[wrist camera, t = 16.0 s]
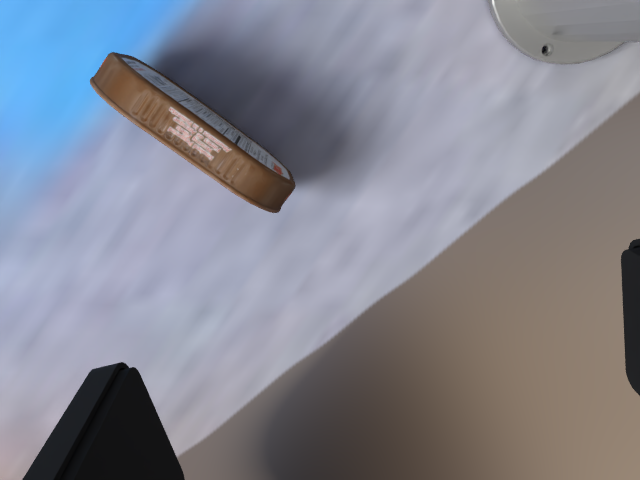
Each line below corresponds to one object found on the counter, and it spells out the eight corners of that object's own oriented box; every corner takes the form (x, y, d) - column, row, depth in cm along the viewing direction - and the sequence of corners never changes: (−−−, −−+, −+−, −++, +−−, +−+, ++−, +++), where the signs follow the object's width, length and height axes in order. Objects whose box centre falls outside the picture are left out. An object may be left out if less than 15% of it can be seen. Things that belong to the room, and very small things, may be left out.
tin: (111, 78, 39) (64, 87, 31) (134, 42, 38) (91, 41, 30) (278, 197, 42) (274, 233, 34) (301, 166, 41) (303, 195, 34)
